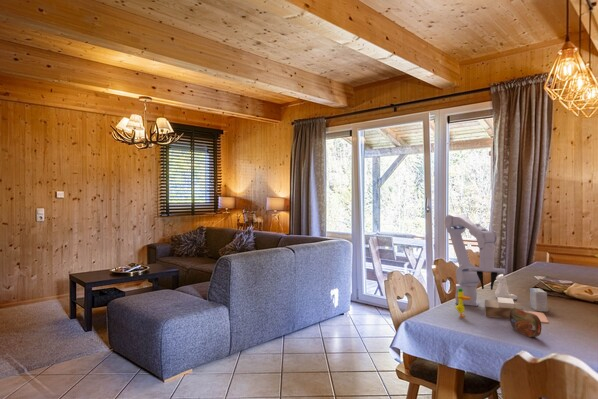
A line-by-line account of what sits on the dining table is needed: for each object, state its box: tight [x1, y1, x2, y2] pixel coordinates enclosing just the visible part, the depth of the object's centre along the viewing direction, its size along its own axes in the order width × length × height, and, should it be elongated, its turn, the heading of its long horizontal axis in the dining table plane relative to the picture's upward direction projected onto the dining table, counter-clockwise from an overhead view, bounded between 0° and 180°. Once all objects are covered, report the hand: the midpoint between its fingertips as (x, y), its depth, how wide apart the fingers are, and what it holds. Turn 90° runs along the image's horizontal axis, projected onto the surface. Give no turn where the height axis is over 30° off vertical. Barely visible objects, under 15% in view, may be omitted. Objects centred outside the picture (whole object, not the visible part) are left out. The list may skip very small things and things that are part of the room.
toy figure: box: [454, 288, 471, 318], centre depth 166 cm, size 7×4×12 cm, turn 54°
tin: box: [509, 308, 542, 338], centre depth 146 cm, size 15×3×8 cm, turn 5°
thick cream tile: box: [496, 297, 515, 308], centre depth 169 cm, size 6×9×2 cm, turn 156°
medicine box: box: [529, 287, 548, 313], centre depth 176 cm, size 8×4×9 cm, turn 168°
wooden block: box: [484, 299, 523, 319], centre depth 169 cm, size 14×12×4 cm
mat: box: [527, 310, 550, 324], centre depth 164 cm, size 9×14×1 cm, turn 156°
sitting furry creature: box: [494, 273, 518, 301], centre depth 195 cm, size 10×9×12 cm
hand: (487, 289), depth 171 cm, fingers open, 3 cm apart
